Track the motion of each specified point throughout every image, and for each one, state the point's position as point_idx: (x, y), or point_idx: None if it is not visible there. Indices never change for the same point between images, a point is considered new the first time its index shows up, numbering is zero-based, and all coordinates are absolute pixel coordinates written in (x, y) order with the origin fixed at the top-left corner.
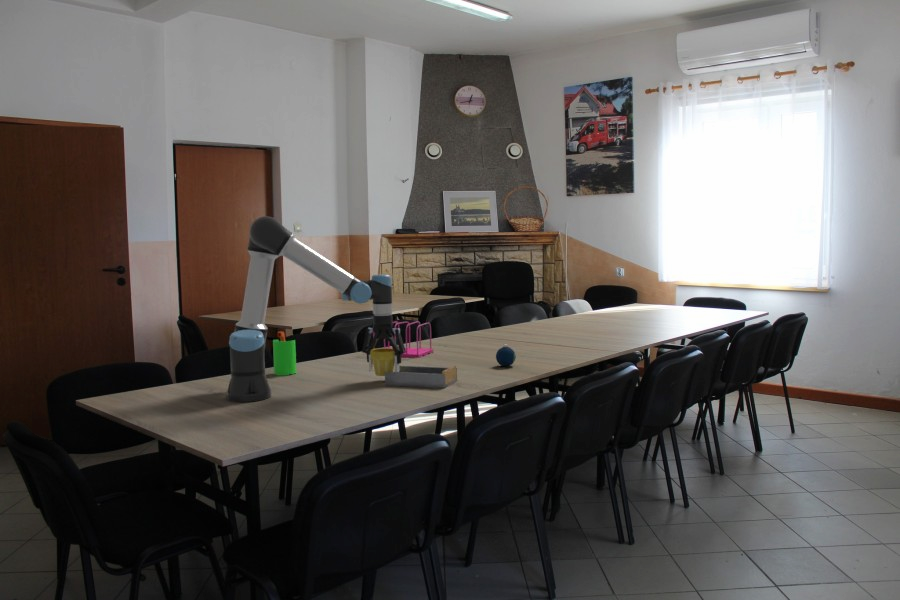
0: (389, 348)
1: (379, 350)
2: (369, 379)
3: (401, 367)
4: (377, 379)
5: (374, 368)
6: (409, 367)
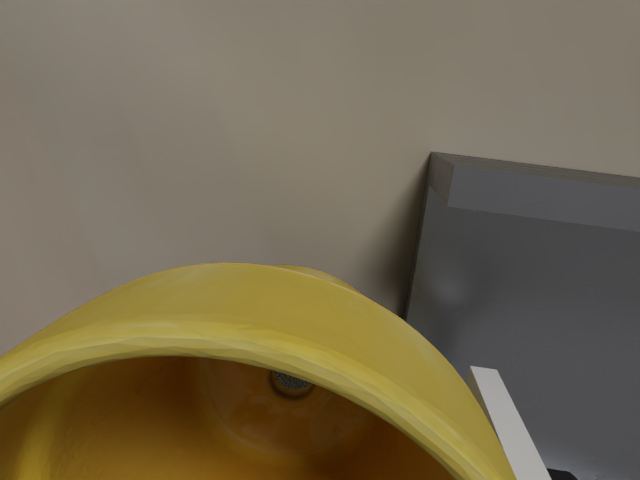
0: (251, 361)
1: (11, 400)
2: (112, 261)
3: (491, 207)
4: (197, 253)
5: (168, 470)
6: (634, 228)
